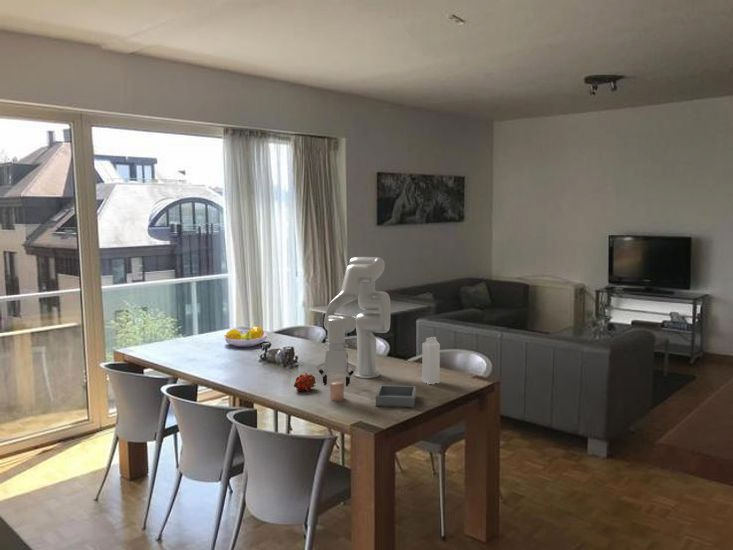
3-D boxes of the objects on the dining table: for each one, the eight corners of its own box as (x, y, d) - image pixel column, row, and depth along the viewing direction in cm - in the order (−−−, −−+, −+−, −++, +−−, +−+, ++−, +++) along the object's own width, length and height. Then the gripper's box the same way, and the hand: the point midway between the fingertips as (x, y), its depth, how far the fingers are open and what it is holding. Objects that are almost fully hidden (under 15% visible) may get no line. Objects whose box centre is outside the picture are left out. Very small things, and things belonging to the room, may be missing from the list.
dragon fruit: (317, 391, 276) (296, 400, 269) (308, 378, 280) (286, 386, 273) (322, 379, 271) (300, 388, 264) (312, 366, 275) (290, 375, 268)
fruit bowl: (229, 340, 378) (228, 322, 376) (271, 339, 378) (271, 322, 376) (217, 350, 350) (217, 331, 349) (263, 350, 350) (263, 331, 348)
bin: (380, 394, 265) (379, 385, 265) (415, 395, 263) (415, 386, 263) (375, 406, 250) (375, 396, 249) (413, 408, 247) (413, 397, 247)
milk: (439, 383, 282) (440, 337, 279) (429, 385, 279) (430, 339, 276) (431, 380, 287) (432, 335, 285) (421, 381, 284) (422, 336, 281)
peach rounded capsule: (331, 396, 263) (331, 381, 263) (345, 397, 262) (344, 381, 262) (329, 401, 257) (328, 385, 257) (342, 401, 257) (342, 385, 256)
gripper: (357, 345, 260) (357, 383, 261) (318, 344, 262) (318, 382, 263) (354, 348, 252) (354, 388, 254) (314, 347, 255) (315, 386, 256)
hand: (336, 385), depth 259 cm, fingers open, 9 cm apart
